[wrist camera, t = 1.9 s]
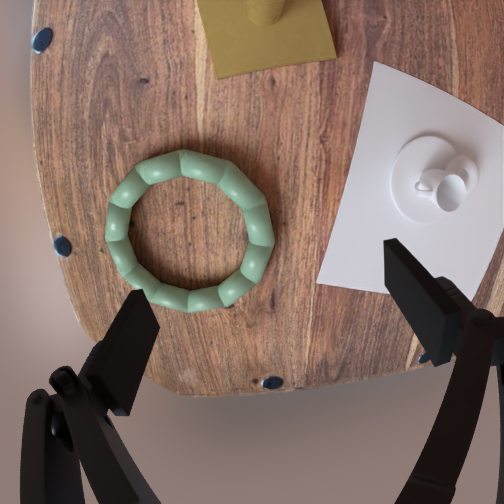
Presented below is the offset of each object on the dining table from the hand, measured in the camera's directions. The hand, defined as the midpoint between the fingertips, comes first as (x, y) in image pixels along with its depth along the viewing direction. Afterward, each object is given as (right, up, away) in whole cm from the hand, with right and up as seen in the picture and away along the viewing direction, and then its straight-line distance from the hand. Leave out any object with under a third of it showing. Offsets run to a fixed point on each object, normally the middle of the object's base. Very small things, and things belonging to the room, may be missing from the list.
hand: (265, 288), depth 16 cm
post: (0, +20, +2) cm, 20 cm away
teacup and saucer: (+17, +6, +9) cm, 20 cm away
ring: (-6, +3, +9) cm, 11 cm away
